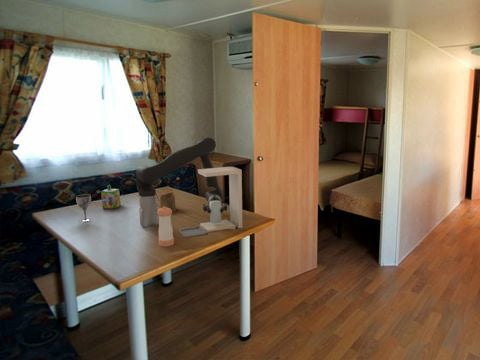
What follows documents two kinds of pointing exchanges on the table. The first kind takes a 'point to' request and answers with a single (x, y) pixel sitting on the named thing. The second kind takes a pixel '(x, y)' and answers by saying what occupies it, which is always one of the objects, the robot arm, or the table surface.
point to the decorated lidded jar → (110, 198)
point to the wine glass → (84, 203)
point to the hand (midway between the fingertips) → (215, 211)
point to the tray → (192, 231)
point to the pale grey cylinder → (215, 211)
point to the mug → (167, 201)
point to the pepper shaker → (165, 227)
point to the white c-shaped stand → (235, 198)
